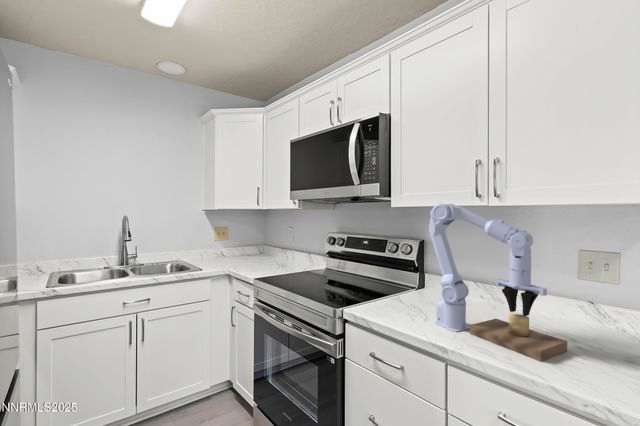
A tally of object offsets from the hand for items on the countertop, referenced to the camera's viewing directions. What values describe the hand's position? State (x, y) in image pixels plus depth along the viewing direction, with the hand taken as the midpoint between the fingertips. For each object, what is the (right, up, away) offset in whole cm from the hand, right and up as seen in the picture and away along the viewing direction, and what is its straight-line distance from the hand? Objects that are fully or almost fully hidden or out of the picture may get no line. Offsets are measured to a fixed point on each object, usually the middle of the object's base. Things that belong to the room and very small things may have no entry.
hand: (519, 313), depth 100 cm
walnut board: (-1, -9, +1) cm, 9 cm away
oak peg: (0, -9, 0) cm, 9 cm away
